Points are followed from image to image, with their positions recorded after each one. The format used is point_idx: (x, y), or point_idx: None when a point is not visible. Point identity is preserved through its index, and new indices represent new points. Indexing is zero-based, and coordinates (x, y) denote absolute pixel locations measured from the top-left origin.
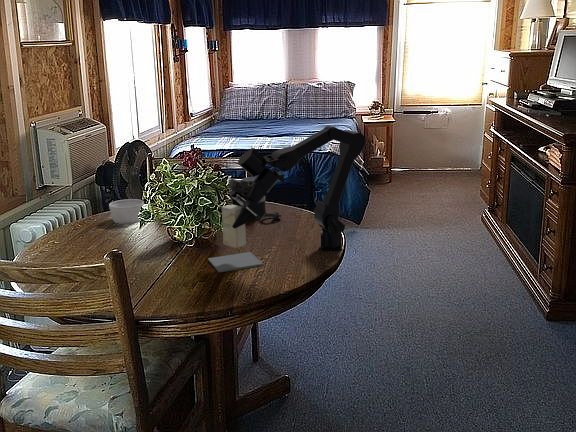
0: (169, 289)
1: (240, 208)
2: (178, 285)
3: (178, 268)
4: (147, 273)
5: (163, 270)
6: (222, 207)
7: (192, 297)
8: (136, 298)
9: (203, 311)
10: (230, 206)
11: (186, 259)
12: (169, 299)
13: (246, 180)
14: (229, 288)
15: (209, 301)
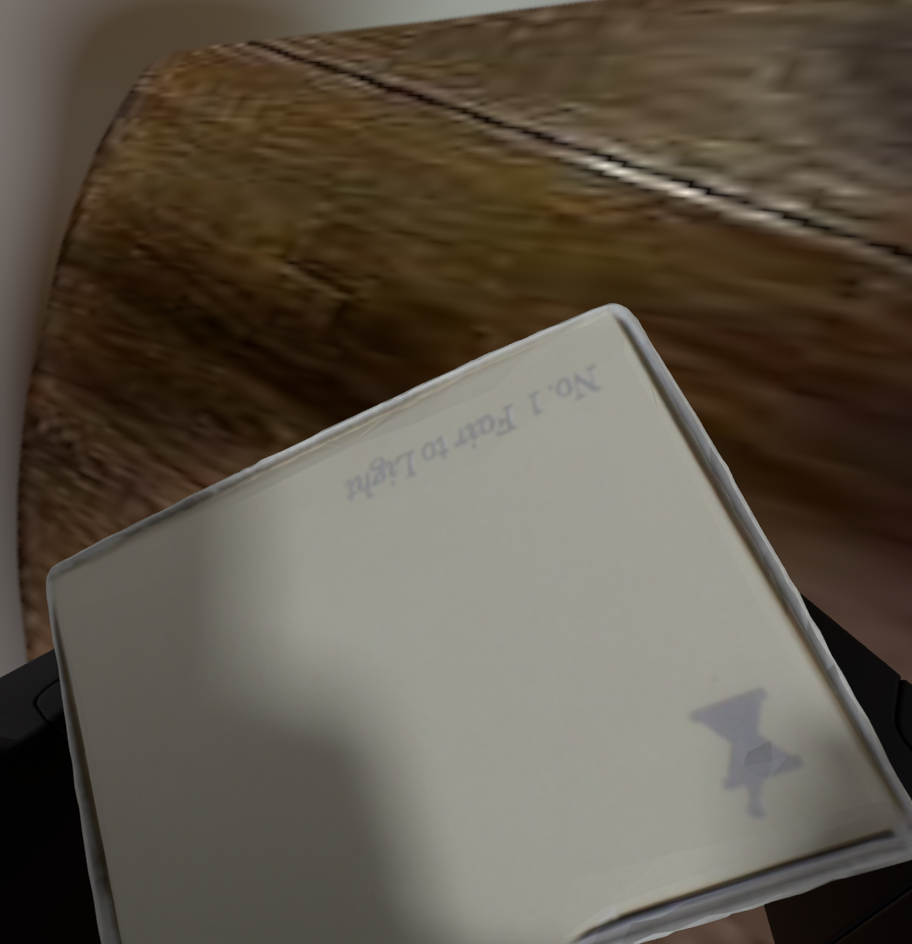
0: (323, 161)
1: (106, 835)
2: (347, 202)
3: (588, 227)
4: (586, 71)
5: (594, 148)
6: (573, 324)
7: (195, 241)
8: (303, 37)
9: (65, 260)
10: (505, 613)
11: (743, 293)
12: (226, 155)
13: None
14: (193, 411)
15: (125, 298)
